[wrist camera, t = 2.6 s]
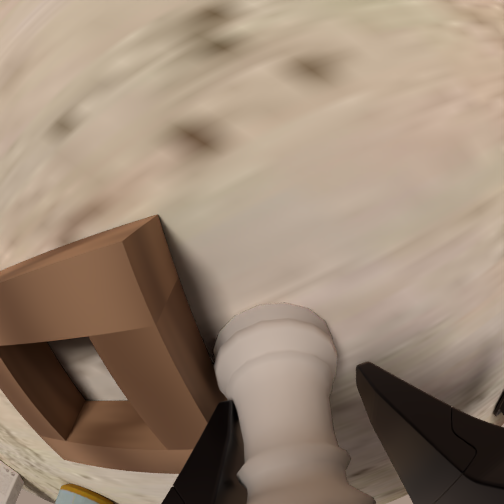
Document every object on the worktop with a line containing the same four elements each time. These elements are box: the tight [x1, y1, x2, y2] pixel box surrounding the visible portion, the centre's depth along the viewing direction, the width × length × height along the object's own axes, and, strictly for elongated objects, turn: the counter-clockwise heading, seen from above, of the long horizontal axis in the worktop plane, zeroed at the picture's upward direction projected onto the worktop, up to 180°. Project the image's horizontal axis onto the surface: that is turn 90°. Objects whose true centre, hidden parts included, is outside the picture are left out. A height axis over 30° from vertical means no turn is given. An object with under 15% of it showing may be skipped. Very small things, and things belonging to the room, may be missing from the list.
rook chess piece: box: [213, 302, 376, 504], centre depth 7 cm, size 4×4×8 cm
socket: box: [0, 215, 227, 474], centre depth 9 cm, size 10×10×3 cm
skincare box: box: [0, 460, 24, 504], centre depth 13 cm, size 6×4×12 cm
